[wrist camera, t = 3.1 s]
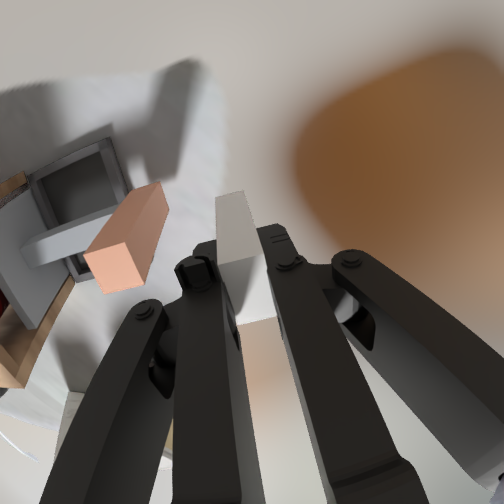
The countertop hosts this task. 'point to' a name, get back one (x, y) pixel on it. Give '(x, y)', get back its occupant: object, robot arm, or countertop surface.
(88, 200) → the tray
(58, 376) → the countertop surface
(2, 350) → the tunnel
